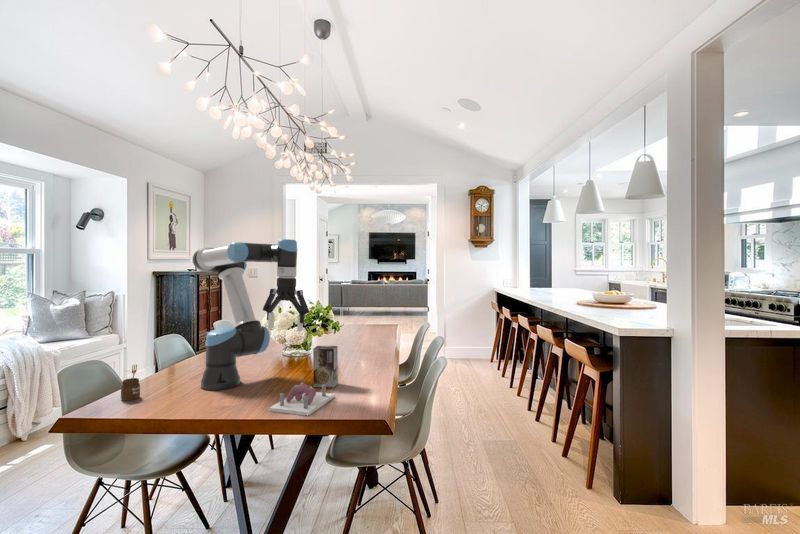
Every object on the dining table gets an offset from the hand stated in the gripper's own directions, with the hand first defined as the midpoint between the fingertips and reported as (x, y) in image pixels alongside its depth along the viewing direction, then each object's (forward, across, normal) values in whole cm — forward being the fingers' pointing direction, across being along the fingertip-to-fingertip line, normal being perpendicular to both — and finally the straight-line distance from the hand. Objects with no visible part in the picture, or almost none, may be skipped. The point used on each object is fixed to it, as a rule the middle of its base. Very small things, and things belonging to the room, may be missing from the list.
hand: (285, 329), depth 158 cm
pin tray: (+24, +17, -12) cm, 31 cm away
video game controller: (+23, +17, -14) cm, 31 cm away
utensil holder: (+26, -48, -27) cm, 61 cm away
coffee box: (+24, +13, +11) cm, 30 cm away
